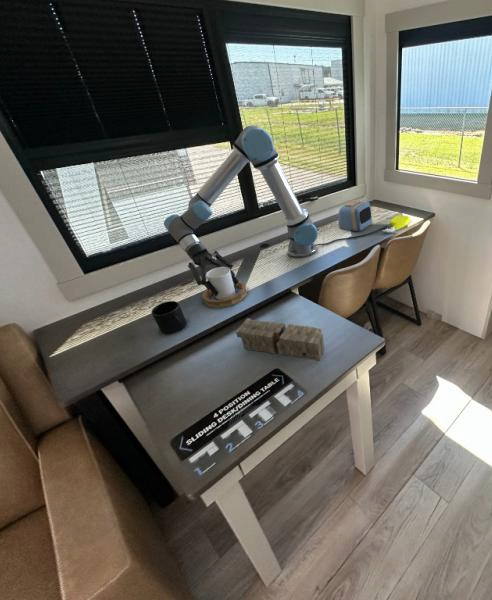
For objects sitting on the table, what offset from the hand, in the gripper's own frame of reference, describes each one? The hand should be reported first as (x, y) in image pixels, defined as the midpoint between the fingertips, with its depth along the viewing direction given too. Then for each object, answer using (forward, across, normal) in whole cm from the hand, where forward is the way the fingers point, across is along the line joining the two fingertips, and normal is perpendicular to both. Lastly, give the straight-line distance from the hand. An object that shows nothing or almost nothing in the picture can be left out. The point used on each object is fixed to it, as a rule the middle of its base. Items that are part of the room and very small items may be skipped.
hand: (227, 288), depth 135 cm
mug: (+3, +25, -4) cm, 25 cm away
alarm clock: (+5, -95, -2) cm, 95 cm away
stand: (+1, 0, -6) cm, 6 cm away
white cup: (+1, 0, -6) cm, 6 cm away
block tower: (+35, +11, +28) cm, 46 cm away
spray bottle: (+22, -105, +15) cm, 109 cm away
